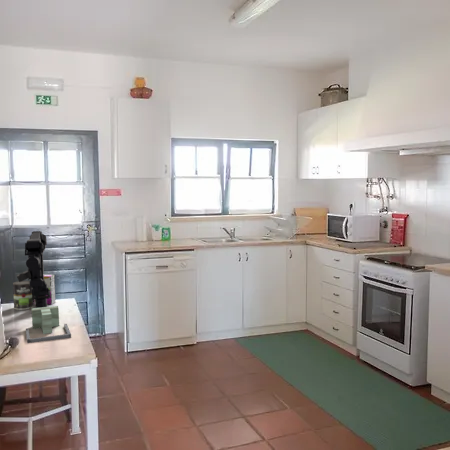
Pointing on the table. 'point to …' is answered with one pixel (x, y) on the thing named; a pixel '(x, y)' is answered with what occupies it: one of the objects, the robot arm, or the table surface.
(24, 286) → the coffee can
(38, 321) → the T-block
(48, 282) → the candy bar box
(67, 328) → the frame
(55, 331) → the table surface
